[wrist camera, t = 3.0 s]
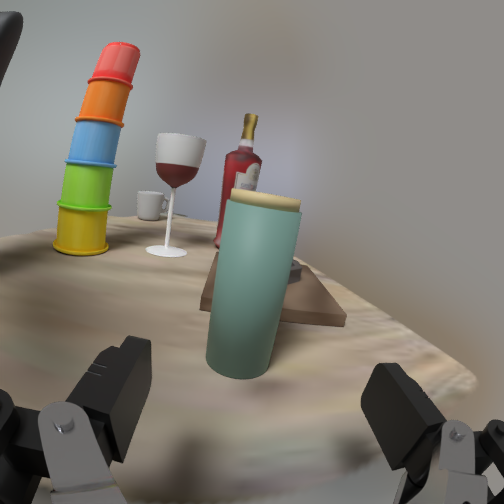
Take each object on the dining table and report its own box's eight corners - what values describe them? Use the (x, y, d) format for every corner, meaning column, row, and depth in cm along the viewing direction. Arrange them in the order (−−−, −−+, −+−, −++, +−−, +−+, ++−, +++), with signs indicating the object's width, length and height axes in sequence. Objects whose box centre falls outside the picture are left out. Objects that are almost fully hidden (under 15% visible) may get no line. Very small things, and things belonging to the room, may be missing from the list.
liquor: (229, 243, 63) (250, 121, 57) (253, 252, 58) (276, 120, 52) (204, 245, 57) (226, 111, 51) (228, 255, 53) (253, 108, 46)
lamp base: (199, 309, 28) (203, 278, 28) (215, 260, 48) (218, 240, 47) (343, 326, 30) (351, 298, 29) (305, 273, 49) (309, 254, 48)
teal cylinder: (202, 374, 18) (227, 188, 15) (208, 339, 23) (230, 187, 20) (271, 382, 19) (312, 202, 16) (265, 346, 24) (296, 198, 21)
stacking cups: (98, 239, 47) (128, 64, 40) (117, 254, 41) (153, 47, 33) (49, 242, 39) (81, 53, 32) (58, 258, 33) (98, 31, 25)
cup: (161, 217, 85) (164, 192, 83) (174, 222, 80) (177, 195, 78) (130, 217, 77) (133, 190, 75) (141, 221, 72) (144, 192, 70)
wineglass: (135, 246, 47) (150, 135, 43) (174, 244, 54) (189, 143, 49) (156, 259, 42) (173, 131, 38) (198, 255, 49) (216, 142, 44)
